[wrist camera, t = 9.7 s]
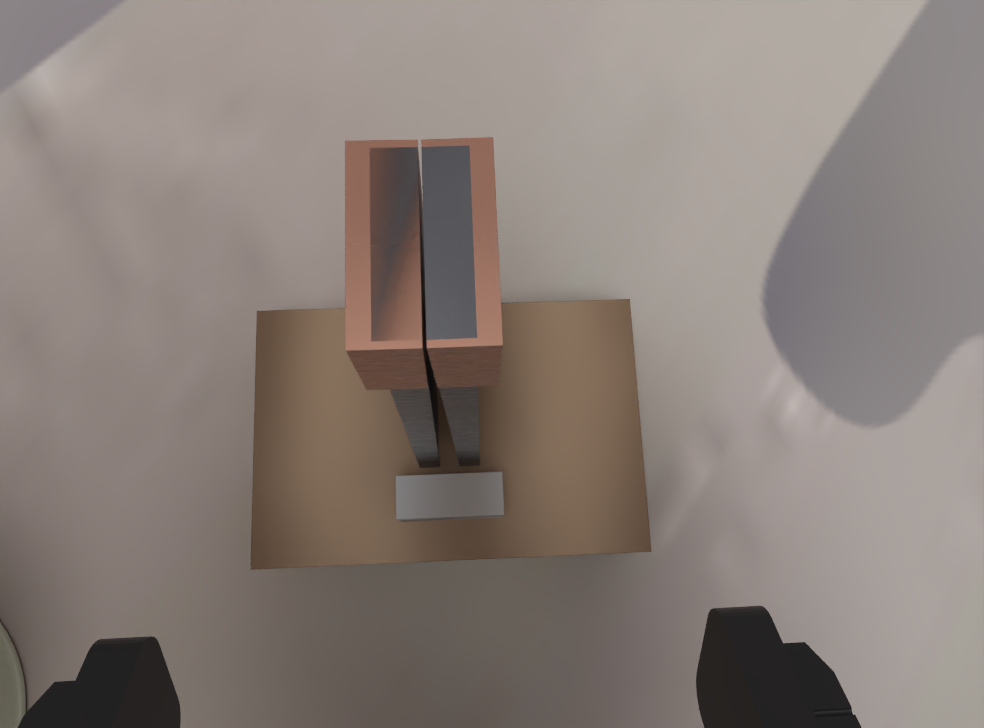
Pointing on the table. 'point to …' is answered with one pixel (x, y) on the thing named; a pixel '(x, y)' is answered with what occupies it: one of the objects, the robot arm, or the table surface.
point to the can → (10, 684)
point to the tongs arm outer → (462, 280)
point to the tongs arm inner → (390, 284)
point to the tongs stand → (450, 448)
